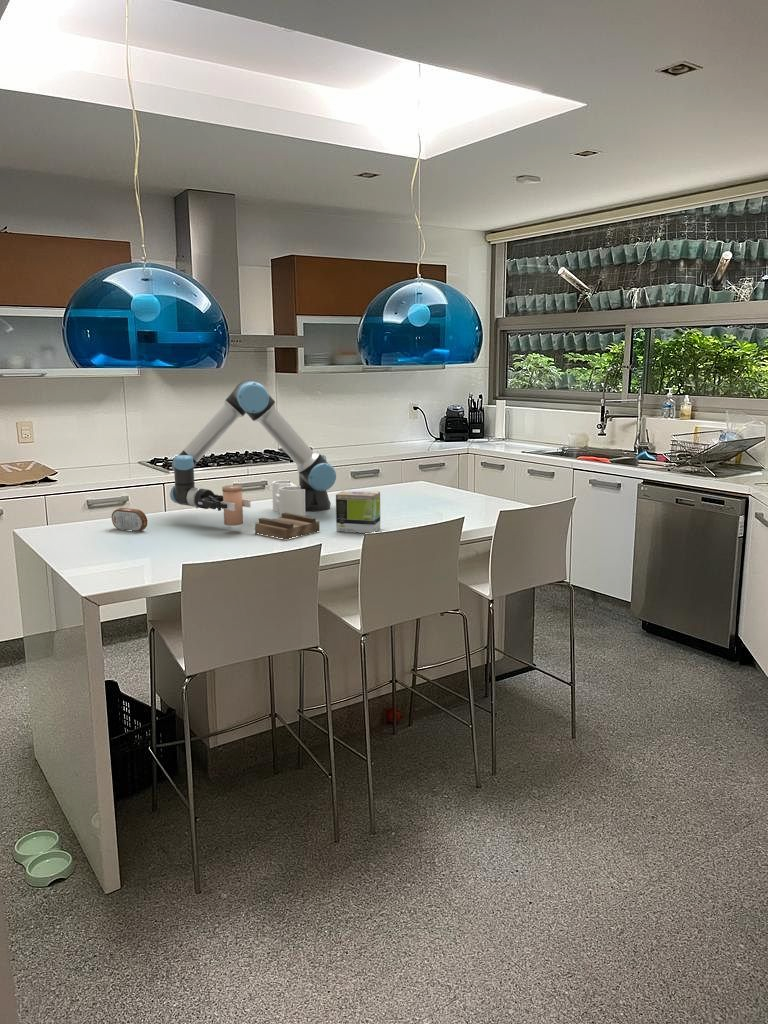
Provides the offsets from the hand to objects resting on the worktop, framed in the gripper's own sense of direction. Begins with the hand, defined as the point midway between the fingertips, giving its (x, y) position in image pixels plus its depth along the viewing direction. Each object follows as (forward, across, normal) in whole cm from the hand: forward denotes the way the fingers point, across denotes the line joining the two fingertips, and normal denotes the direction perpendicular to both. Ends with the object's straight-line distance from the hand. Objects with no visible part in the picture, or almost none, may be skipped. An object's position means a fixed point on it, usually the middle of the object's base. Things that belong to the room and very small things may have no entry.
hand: (241, 505), depth 296 cm
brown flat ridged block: (+11, -12, -11) cm, 20 cm away
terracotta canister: (-5, 0, -8) cm, 9 cm away
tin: (-38, +23, -11) cm, 46 cm away
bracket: (-13, -37, -12) cm, 41 cm away
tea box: (+29, -32, -12) cm, 45 cm away
